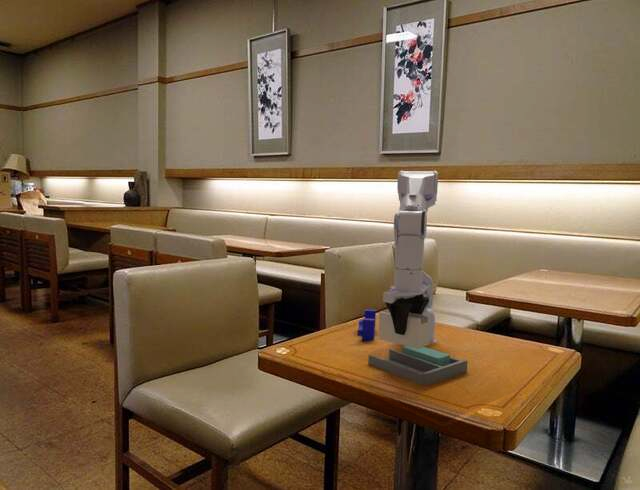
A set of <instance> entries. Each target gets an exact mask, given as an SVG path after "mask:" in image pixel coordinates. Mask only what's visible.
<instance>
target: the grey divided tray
mask: <svg viewBox="0 0 640 490" xmlns="http://www.w3.org/2000/svg"><path fill="white" fill-rule="evenodd" d="M367 362H368V365H370V366H373V367H374V368H375V367H376V368H377V369H380V370H383V371H386V372H388V373H391V374H393V375H396V376H398V377H401V378H404V379H406V380H409V381H411V382H413V383H416V384H418V385H420V386H424V387H427V386H430V385H432V384H433V385H434V384H435V383H439V382H441V381H444V380H448V379H450V378H453V377H456V376H458V375H462V374H465V373H467V372H468V360H467V359H458V358H455V357H453V356H450V364H449V365H446V366H443V367H442V366H439V365H436V364H433V363H430V362H428V361H425V360H422V359H419V358H416V357H413V356H410V355H407V354H404V353H402V351H401V352H400V351H399V350H395V349H393V348H389V350H388V358H382V357H378V356H376V355H373V354H368V360H367Z"/></svg>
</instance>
